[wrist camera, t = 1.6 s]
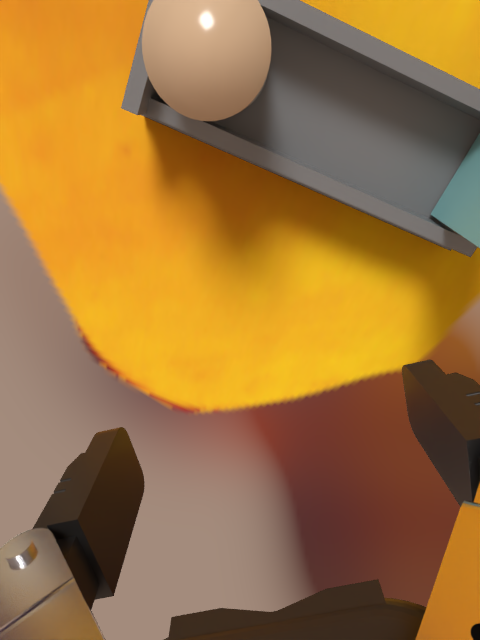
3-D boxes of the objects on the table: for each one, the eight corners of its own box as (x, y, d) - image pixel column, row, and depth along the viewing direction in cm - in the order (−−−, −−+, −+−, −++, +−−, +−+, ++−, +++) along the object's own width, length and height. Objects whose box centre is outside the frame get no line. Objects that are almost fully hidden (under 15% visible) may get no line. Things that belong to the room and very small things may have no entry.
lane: (189, -50, 28) (171, -86, 22) (528, 117, 31) (584, 121, 25) (143, 114, 32) (118, 116, 27) (445, 246, 35) (478, 273, 30)
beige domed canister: (195, -10, 28) (164, -58, 19) (285, 33, 28) (293, 5, 20) (164, 93, 30) (126, 90, 22) (248, 130, 31) (241, 141, 23)
